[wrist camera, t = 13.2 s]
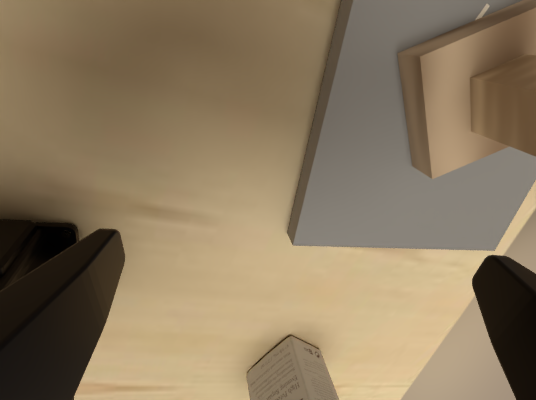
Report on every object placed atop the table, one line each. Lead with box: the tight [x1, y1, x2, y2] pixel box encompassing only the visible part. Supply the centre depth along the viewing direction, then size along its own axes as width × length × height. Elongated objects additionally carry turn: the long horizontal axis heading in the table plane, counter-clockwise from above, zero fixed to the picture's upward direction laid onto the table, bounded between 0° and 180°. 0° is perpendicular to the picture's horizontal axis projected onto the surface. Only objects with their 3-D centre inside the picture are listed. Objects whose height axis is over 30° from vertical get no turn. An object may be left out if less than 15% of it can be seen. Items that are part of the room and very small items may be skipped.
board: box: [287, 0, 536, 251], centre depth 19 cm, size 26×17×2 cm, turn 170°
